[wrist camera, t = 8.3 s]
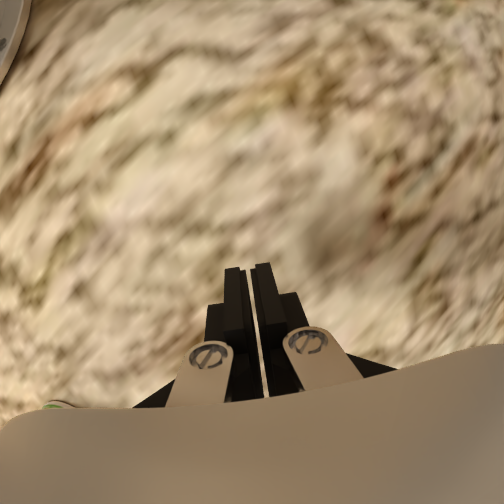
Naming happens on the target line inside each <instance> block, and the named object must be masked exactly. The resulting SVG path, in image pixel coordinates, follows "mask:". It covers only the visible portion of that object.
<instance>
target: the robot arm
mask: <svg viewBox="0 0 504 504" xmlns="http://www.w3.org/2000/svg"><path fill="white" fill-rule="evenodd" d="M31 1H32V0H0V84H1V83H2V81H3V79H4V77H5V75H6V74H7V72H8V70H9V68H10V65H11V63H12V61H13V59H14V57H15V55H16V53H17V50H18V47H19V45H20V42H21V40H22V37H23V35H24V31H25V28H26V24H27V21H28V18H29V12H30V7H31ZM255 267H256V268H254V269H250V272H251V279H252V286H253V293H254V300H255V307H256V314H257V321H258V327H259V334H260V340H261V347H262V353H263V360H264V366H265V372H266V379H267V385H268V391H269V398H264V393H263V385H262V377H261V370H260V362H259V354H258V347H257V339H256V332H255V326H254V319H253V313H252V307H251V301H250V295H249V288H248V282H247V276H246V270H241V271H240V268H239V267H235V268H228V269H225V279H224V303H220V304H212V305H208V309H207V318H206V328H205V338H204V342H203V343H199V344H197V345H195V346H193V347H192V348H191V349H190V350H188V351H187V353H186V354H185V356H184V358H183V361H182V364H181V366H180V369H179V371H178V374H177V377H176V379H174V380H173V381H171V382H170V383H169V384H167V385H166V386H164V387H163V388H161V389H160V390H158V391H157V392H155V393H154V394H152V395H151V396H149V397H148V398H146V399H145V400H143V401H142V402H140V403H139V404H137V405H136V406H134V407H133V408H48V409H41V410H35V411H31V412H27V413H24V414H21V415H18V416H16V417H14V418H12V419H11V420H9V421H8V422H7V423H6V424H5V425H4V426H3V427H2V429H1V430H0V504H504V344H488V345H482V346H476V347H471V348H467V349H464V350H460V351H456V352H453V353H450V354H447V355H444V356H440V357H437V358H434V359H431V360H427V361H424V362H421V363H418V364H414V365H411V366H408V367H405V368H401V369H395V368H392V367H389V366H385V365H382V364H379V363H376V362H372V361H369V360H366V359H363V358H360V357H356V356H353V355H350V354H347V353H345V352H344V351H343V349H342V348H341V347H340V345H339V344H338V343H337V341H336V340H335V339H334V337H333V336H332V335H331V334H330V333H329V332H328V331H327V330H325V329H322V328H319V327H310V326H309V324H308V321H307V318H306V316H305V313H304V311H303V308H302V305H301V303H300V300H299V298H298V295H297V293H296V292H293V293H287V294H280V295H279V293H278V290H277V286H276V283H275V279H274V276H273V272H272V269H271V265H270V262H268V263H261V264H255Z"/></svg>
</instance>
